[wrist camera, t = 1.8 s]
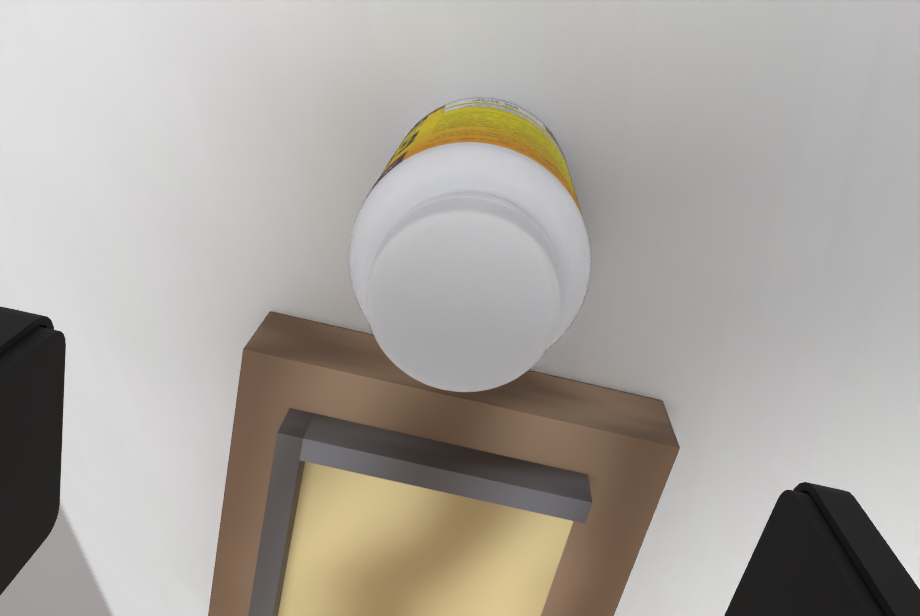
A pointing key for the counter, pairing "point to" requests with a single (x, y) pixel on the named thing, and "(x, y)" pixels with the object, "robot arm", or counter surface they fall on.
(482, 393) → the frame
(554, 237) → the supplement bottle
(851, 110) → the counter surface
